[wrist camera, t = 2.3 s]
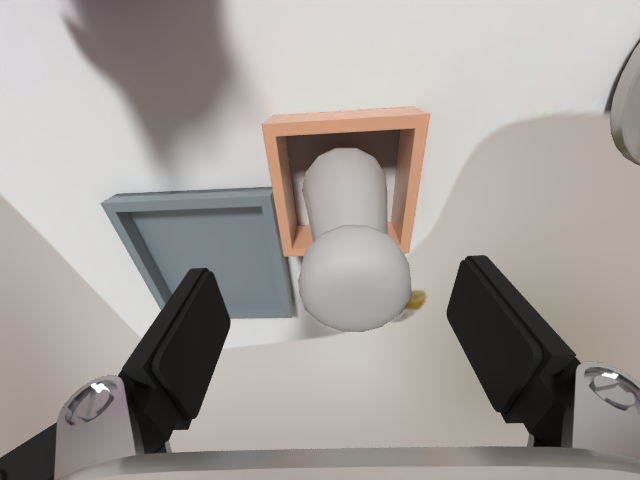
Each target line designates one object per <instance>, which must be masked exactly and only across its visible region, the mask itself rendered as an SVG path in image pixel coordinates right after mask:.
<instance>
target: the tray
mask: <svg viewBox="0 0 640 480" xmlns="http://www.w3.org/2000/svg"><path fill="white" fill-rule="evenodd" d="M101 205H102V207H103V209H104V210H105V212H106V214H107V216H108V217H109V219H110V221H111V223H112V225H113V226H114V228H115V230H116V232H117V233H118V235H119V237H120V239H121V240H122V242H123V244H124V246H125V247H126V249H127V251H128V253H129V254H130V256H131V258H132V260H133V262H134V263H135V265H136V267H137V269H138V270H139V272H140V274H141V276H142V277H143V279H144V281H145V283H146V284H147V286H148V288H149V290H150V292H151V293H152V295H153V297H154V299H155V300H156V302H157V304H158V306H159V307H160V309H161V310H162V309H163V307H164V306H165V305H166V303H167V302H168V300H169V299H170V297H171V296H172V294H173V293H174V291H175V290H176V288H177V287H178V285H179V284H180V283H181V281H182V280H183V278H184V277H185V275H186V274H187V272H188V271H189V270H190V269H192V268H208V269H209V271H212V272H213V273H214V275H215V278H216V281H217V284H218V286H219V289H220V292H221V295H222V297H223V300H224V303H225V306H226V308H227V311H228V314H229V317H230V318H292V313H293V307H294V302H293V296H292V290H291V283H290V277H289V271H288V265H287V259H286V257H284V254H283V248H282V242H281V236H280V230H279V224H278V218H277V212H276V207H275V201H274V195H273V189H272V187H258V188H237V189H215V190H193V191H171V192H149V193H127V194H116V195H114V196H112V197H111V198H109V199H107V200H105V201H104V202H102V203H101Z"/></svg>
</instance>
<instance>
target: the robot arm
mask: <svg viewBox="0 0 640 480" xmlns="http://www.w3.org/2000/svg"><path fill="white" fill-rule="evenodd" d="M610 124H611V135H612V137H613V140H614V143H615V145H616V147H617V148H618V150H619V151H620V152H621V153H622V154H623V156H624V157H625V158H627V159H628V160H630V161H632V162H633V163H635V164H637V165H640V43H639V44H638V45H637V47H636V48H635V50H634V51H633V53H632V55H631V57H630V59H629V61H628V63H627V65H626V67H625V69H624V71H623V73H622V75H621V77H620V80H619V83H618V85H617V88H616V91H615V94H614V97H613V102H612V108H611V114H610ZM447 318H448V321H449V323H450V325H451V327H452V328H453V331H454V332H455V334H456V336H457V338H458V340H459V342H460V344H461V346H462V348H463V350H464V352H465V354H466V356H467V358H468V360H469V362H470V363H471V366H472V367H473V369H474V371H475V373H476V375H477V377H478V379H479V381H480V383H481V385H482V387H483V389H484V391H485V393H486V395H487V397H488V399H489V401H490V403H491V404H492V406H493V408H494V409H495V410H496V411H497V412H500V413H501V415H502V417H503V419H504V420H505V422H506V423H524V425H525V427H526V428H527V430H528V432H529V439H528V444H527V447H416V448H415V447H414V448H413V447H410V448H348V449H291V450H290V449H289V450H248V451H247V450H246V451H245V450H244V451H204V452H180V453H172V451H171V447H170V444H169V439H170V436H171V434H172V431H173V430H188V429H189V426H190V423H191V421H192V419H195V418H196V417H197V415H198V413H199V411H200V408H201V405H202V402H203V400H204V397H205V394H206V391H207V389H208V386H209V383H210V380H211V378H212V375H213V372H214V370H215V367H216V364H217V361H218V359H219V356H220V353H221V350H222V348H223V345H224V342H225V339H226V337H227V334H228V331H229V329H230V317H229V314H228V311H227V308H226V306H225V303H224V300H223V297H222V295H221V292H220V289H219V286H218V284H217V281H216V278H215V275H214V273H213V272H212V271H209V269H208V268H192V269H190V270H189V271H188V272H187V274H186V275H185V277H184V278H183V280H182V281H181V283H180V284H179V285H178V287H177V288H176V290H175V291H174V293H173V294H172V296H171V297H170V299H169V300H168V302H167V303H166V305H165V306H164V307H163V309H162V310H161V312H160V313H159V315H158V316H157V318H156V319H155V321H154V322H153V324H152V325H151V326H150V328H149V329H148V331H147V332H146V334H145V335H144V337H143V338H142V340H141V341H140V343H139V344H138V346H137V347H136V348H135V350H134V352H133V353H132V354H131V356H130V357H129V359H128V360H127V362H126V363H125V365H124V366H123V368H122V370H121V372H120V373H119V375H118V376H116V375H107V376H102V377H99V378H97V379H95V380H92V381H90V382H89V383H87V384H86V385H84V386H82V387H81V388H80V389H79V390H77V391H76V392H75V393H74V394H73V395H72V396H71V397H70V398H69V399H68V401H67V402H66V403H65V404H64V406H63V407H62V409H61V411H60V413H59V416H58V420H57V423H55V424H53V425H52V426H50V427H48V428H47V429H45V430H44V431H42V432H41V433H39V434H37V435H36V436H34V437H33V438H31V439H29V440H28V441H26V442H25V443H23V444H21V445H20V446H19V447H17V448H15V449H14V450H12V451H10V452H9V453H7V454H6V455H4V456H3V457H1V458H0V480H640V382H638V381H637V380H636V379H634V378H633V377H631V376H630V375H628V374H627V373H625V372H623V371H621V370H619V369H617V368H615V367H613V366H610V365H607V364H604V363H600V362H593V361H589V362H583V363H580V362H579V360H578V359H577V358H576V357H575V356H576V354H575V353H574V352H573V351H572V350H571V349H570V348H569V346H568V345H567V344H566V343H565V342H564V341H563V340H562V339H561V338H560V336H559V335H558V334H557V333H556V332H555V331H554V330H553V329H552V328H551V327H550V326H549V325H548V323H547V322H546V321H545V320H544V319H543V318H542V317H541V316H540V314H539V313H538V312H537V311H536V310H535V309H534V308H533V307H532V306H531V305H530V303H529V302H528V301H527V300H526V299H525V298H524V297H523V296H522V295H521V293H519V291H518V290H517V289H516V288H515V287H514V286H513V285H512V284H511V282H510V281H509V280H508V279H507V278H506V277H505V276H504V275H503V274H502V273H501V272H500V270H499V269H498V268H497V267H496V266H495V265H494V264H493V263H492V262H491V260H490V259H489V258H488V257H487V256H484V255H480V256H467V257H466V258H465V260H462V261H461V263H460V266H459V269H458V273H457V276H456V280H455V283H454V287H453V290H452V294H451V297H450V301H449V304H448V308H447Z"/></svg>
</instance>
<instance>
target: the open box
mask: <svg viewBox="0 0 640 480" xmlns="http://www.w3.org/2000/svg"><path fill="white" fill-rule="evenodd" d="M429 118H430V114H429V113H427V112H425V111H422V110H420V109H418V108H415V107H399V108H384V109H368V110H352V111H336V112H320V113H305V114H289V115H273V116H272V117H270V118H269V119H268V120H266V121H265V122H264V123H262V130H263V136H264V142H265V148H266V154H267V159H268V165H269V171H270V177H271V183H272V189H273V195H274V201H275V207H276V212H277V218H278V224H279V230H280V236H281V242H282V248H283V254H284V257H287V256H304V254H305V251H306V250H307V249H308V248H309V247H310V246H311V245H312V244H313V238H312V233H311V228H310V225H301V226H297V221H296V213H295V205H294V197H293V189H292V181H291V173H290V165H289V157H288V149H287V141H286V136H292V135H309V134H326V133H344V132H361V131H378V130H395V129H400V138H399V148H398V158H397V168H396V178H395V188H394V199H393V209H392V219H391V222H387V231H388V235H389V236H390V237H392V239H393V240H394V241H395V243H396V244H397V245H398V247H399V248H400V250H401V251H402V252H403V253H409V250H410V243H411V237H412V230H413V223H414V217H415V210H416V204H417V197H418V191H419V184H420V177H421V171H422V164H423V158H424V151H425V145H426V138H427V132H428V125H429Z"/></svg>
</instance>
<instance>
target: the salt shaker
mask: <svg viewBox="0 0 640 480" xmlns="http://www.w3.org/2000/svg"><path fill="white" fill-rule="evenodd" d="M302 192H303V196H304V200H305V204H306V208H307V213H308V217H309V223H310V228H311V233H312V238H313V244H312V245H311V246H310V247H309V248H308V249H307V250H306V251H305V254H304V258H303V262H302V267H301V271H300V275H299V280H298V283H299V293H300V296H301V299H302V301H303V304H304V307H305V310H306V311H308V312H309V313H310V314H311V315H312V316H313V317H315V318H316V319H317V320H318V321H319V322H321V323H323V324H324V325H327V326H329V327H332V328H335V329H338V330H340V331H351V332H363V331H367V330H371V329H375V328H379V327H382V326H383V325H384V324H386V323H388V322H389V321H390V320H392V319H393V318H395V317H396V316H398V315H399V314H400V313H401V312H402V311H403V309H404V308H405V306H406V304H407V303H408V301H409V300H410V298H411V296H412V292H411V278H410V270H409V269H410V268H409V263H408V261H407V259H406V257H405V255H404V254H403V252H402V251H401V250H400V248H399V247H398V245H397V244H396V243H395V241H394V240H393V239H392V237H390V236H389V235H388V231H387V186H386V177H385V173H384V171H383V170H382V168H381V167H380V165H379V163H378V162H377V160H376V159H375V158H374V157H373V156H371V155H369V154H367V153H365V152H363V151H362V150H360V149H358V148H351V147H336V148H334V149H332V150H330V151H328V152H326V153H323V154H321V155H319V156H318V157H317V159H316V160H315V161H314V162H313V164H312V165H311V166H310V167H309V169H308V170H307V171H306V173H305V178H304V183H303V188H302Z"/></svg>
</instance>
